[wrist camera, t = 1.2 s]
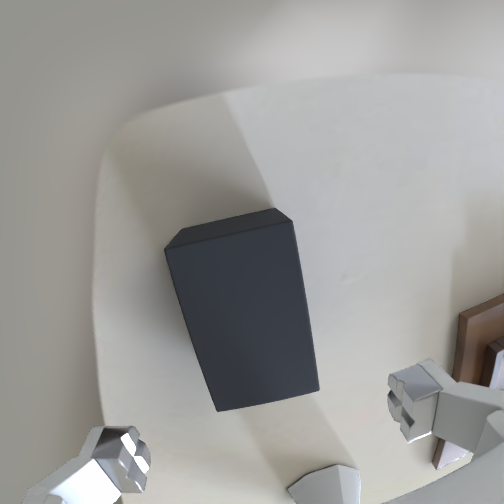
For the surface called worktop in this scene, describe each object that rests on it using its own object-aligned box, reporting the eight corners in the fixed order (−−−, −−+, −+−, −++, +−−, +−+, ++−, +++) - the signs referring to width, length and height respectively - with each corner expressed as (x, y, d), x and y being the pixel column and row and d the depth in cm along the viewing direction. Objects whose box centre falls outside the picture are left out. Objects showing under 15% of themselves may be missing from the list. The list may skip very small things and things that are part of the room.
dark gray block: (180, 228, 18) (163, 249, 13) (276, 207, 18) (292, 219, 13) (218, 362, 20) (216, 412, 15) (301, 345, 20) (320, 391, 15)
